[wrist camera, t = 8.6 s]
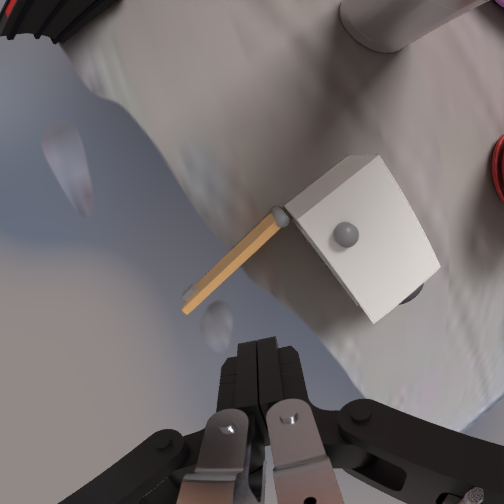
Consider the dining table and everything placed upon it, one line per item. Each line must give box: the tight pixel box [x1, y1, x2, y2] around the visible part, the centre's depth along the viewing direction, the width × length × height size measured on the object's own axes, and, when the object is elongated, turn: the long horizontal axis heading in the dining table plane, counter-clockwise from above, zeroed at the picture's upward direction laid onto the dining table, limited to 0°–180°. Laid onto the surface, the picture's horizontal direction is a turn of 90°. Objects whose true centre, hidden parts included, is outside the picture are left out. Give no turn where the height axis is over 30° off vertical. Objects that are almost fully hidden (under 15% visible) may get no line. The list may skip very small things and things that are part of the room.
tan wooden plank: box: [181, 206, 289, 315], centre depth 31 cm, size 2×14×5 cm, turn 135°
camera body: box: [284, 155, 441, 324], centre depth 29 cm, size 9×15×9 cm, turn 39°
